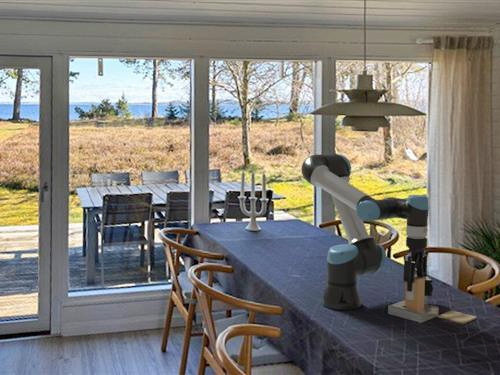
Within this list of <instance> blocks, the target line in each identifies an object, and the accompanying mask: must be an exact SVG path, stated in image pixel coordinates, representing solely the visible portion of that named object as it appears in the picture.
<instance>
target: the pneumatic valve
mask: <svg viewBox="0 0 500 375" xmlns="http://www.w3.org/2000/svg"><path fill="white" fill-rule="evenodd" d="M415 276H417V274H415ZM425 278H426V280H425V292H424V304H428V299H429V298H428V297H432V296H433V291H434V287H433V279H431V278H430V277H428V276H427V277H425Z"/></svg>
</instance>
